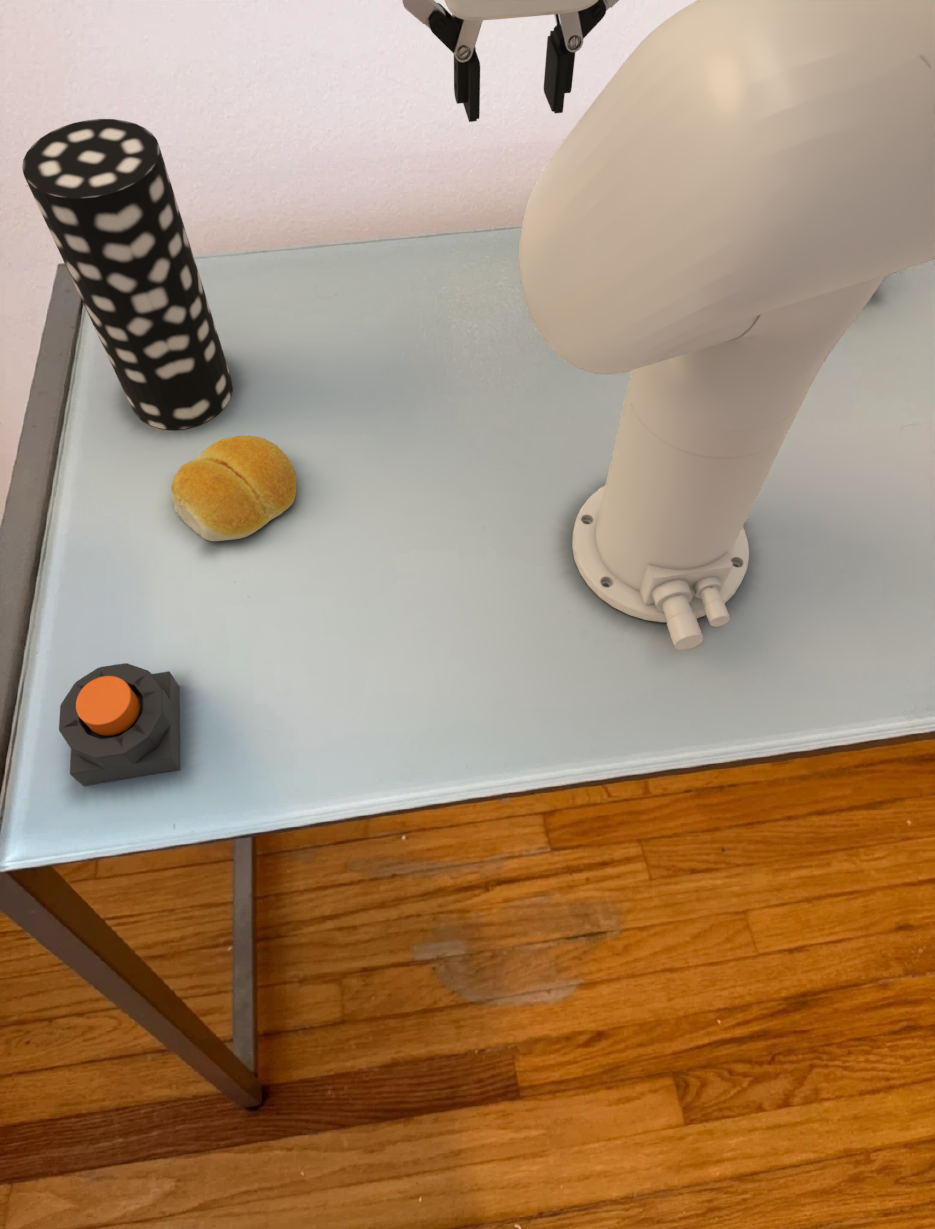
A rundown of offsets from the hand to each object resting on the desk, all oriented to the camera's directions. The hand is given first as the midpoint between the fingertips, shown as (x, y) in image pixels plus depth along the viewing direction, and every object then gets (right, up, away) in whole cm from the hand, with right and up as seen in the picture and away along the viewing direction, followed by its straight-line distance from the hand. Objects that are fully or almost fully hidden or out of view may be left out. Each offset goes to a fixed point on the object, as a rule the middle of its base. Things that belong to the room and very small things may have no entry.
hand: (511, 104), depth 61 cm
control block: (-25, -44, -6) cm, 51 cm away
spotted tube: (-27, -18, +10) cm, 34 cm away
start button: (-25, -42, -9) cm, 50 cm away
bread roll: (-21, -28, +4) cm, 35 cm away
